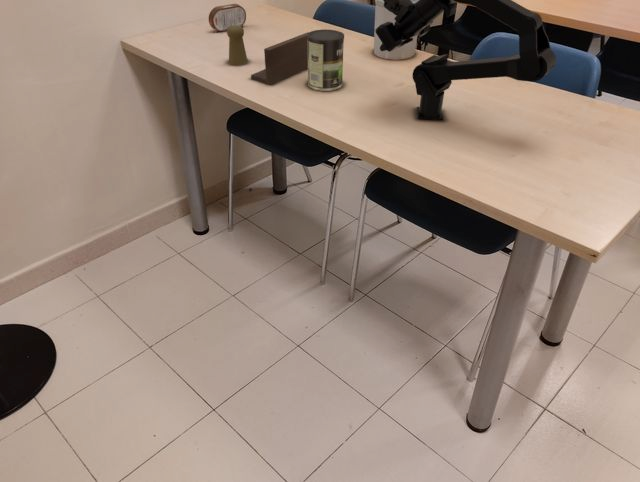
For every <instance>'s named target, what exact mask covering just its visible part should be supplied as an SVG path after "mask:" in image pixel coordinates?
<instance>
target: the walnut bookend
mask: <svg viewBox="0 0 640 482" xmlns="http://www.w3.org/2000/svg"><path fill="white" fill-rule="evenodd" d="M309 32H310V31H308V32H305V33H302V34H300V35H297V36H294V37H291V38H289V39H286V40H283V41H281V42H279V43H276V44H273V45H271V46H268V47H265V48H264V49H263V51H264V52H263V53H264V69H262V70H260V71H256V72H255V73H252V74H250V79H251V80H253V81H257V82H260V83H262V84H266V85H270V86H273V85H274V84H278V83H279V82H281V81H284V80H287V79H288V78H290V77H292V76H294V75H297V74H299V73H301V72H304V71H305V70H308V38H307V34H308V33H309Z"/></svg>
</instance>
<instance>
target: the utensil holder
mask: <svg viewBox="0 0 640 482" xmlns="http://www.w3.org/2000/svg"><path fill="white" fill-rule="evenodd" d="M417 1H418V0H411V2H412V3H413V4H415V3H416V2H417ZM374 2H375V9H374V11H375V12H374V33H373V34H374V35H373V54H374V55H375V56H377V57H378V58H381V59H385V60H395V61H396V60H397V61H399V60H406V59H410V58H412V57H414V55H416V54H415V53H416V47H417V40H418V35H416V36H414V37H412V38H413V41H411V42H409V43H407V44H405V45H403V46H401V47H399V48H396V49H395V50H393V51H391V52H389V51H387V50H386V51H381V50H380V46H381V45H382V42H381V40H380V39H379V37H378V35H377V34H376V32H375V30H376V29H377V28H378V27H379V26H380V25H381V24H384V23H386V22H392V23H393V24H394V25H395V22H396V20H395V19H394V18H395V17H396V16H397V15H395V14H393V13H392V12H390V11H389V10H387V9H386V8H385V7H384V1H383V0H374Z"/></svg>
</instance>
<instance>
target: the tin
mask: <svg viewBox="0 0 640 482" xmlns="http://www.w3.org/2000/svg"><path fill="white" fill-rule="evenodd" d="M246 20H247V11H246V9H245V8H244V7H243V6H241V5H240V4H238V3H229V4H225V5H217V6H214V7H213V8H212V9H211V10H210V11H209V14H208V23H209V26H210V28H211V29H213V30H215V31H217V32H227V29H228V27H230V26H234V25H237V26H241V27H242V28H243V26H244V25H245V23H246Z"/></svg>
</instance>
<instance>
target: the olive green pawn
mask: <svg viewBox="0 0 640 482" xmlns="http://www.w3.org/2000/svg"><path fill="white" fill-rule="evenodd" d="M226 34H227V37H228V38H229V40H228V43H229V44H228V45H229V46H228V64H229V65H231V66H244V65H247V64H248V63H249V61H248V56H247V51H246V47H245V43H244V36H245V31H244V28H243V26H242V27H241V26H237V25H234V26H230V27H228V29H227V31H226Z"/></svg>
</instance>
